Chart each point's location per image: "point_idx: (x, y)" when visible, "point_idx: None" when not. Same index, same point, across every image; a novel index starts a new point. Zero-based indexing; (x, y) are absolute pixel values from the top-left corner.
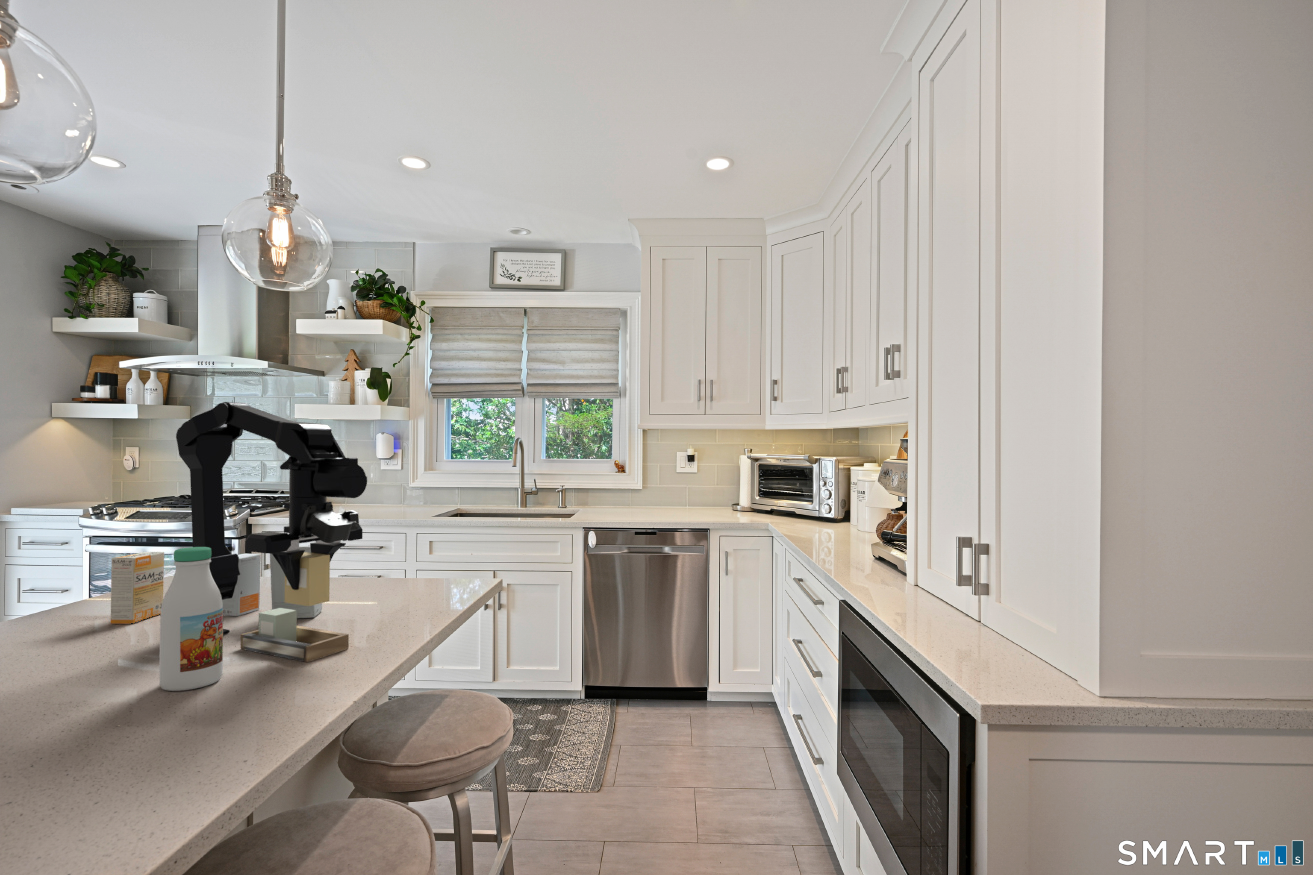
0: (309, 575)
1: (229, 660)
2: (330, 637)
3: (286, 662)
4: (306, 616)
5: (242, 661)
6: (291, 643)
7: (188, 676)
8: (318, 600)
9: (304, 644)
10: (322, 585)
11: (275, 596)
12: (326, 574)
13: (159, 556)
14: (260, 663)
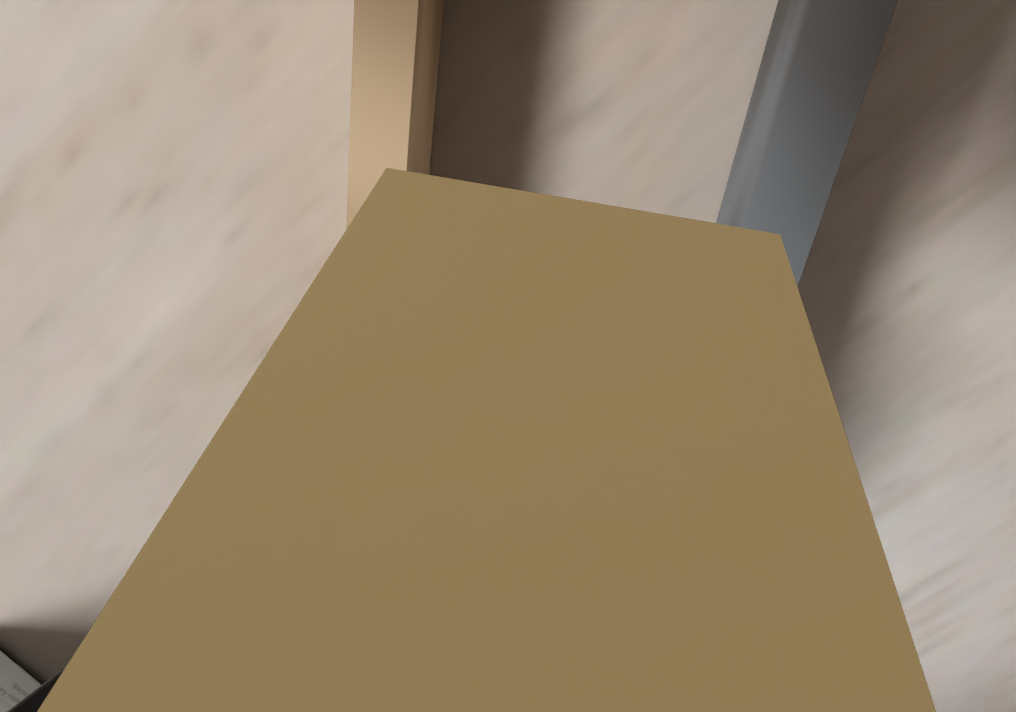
0: (894, 644)
1: (895, 512)
2: (421, 59)
3: (903, 99)
4: (11, 668)
5: (909, 427)
6: (821, 188)
7: None
8: (599, 223)
9: (835, 32)
10: (477, 347)
11: None
12: (302, 482)
13: None
14: (946, 281)
